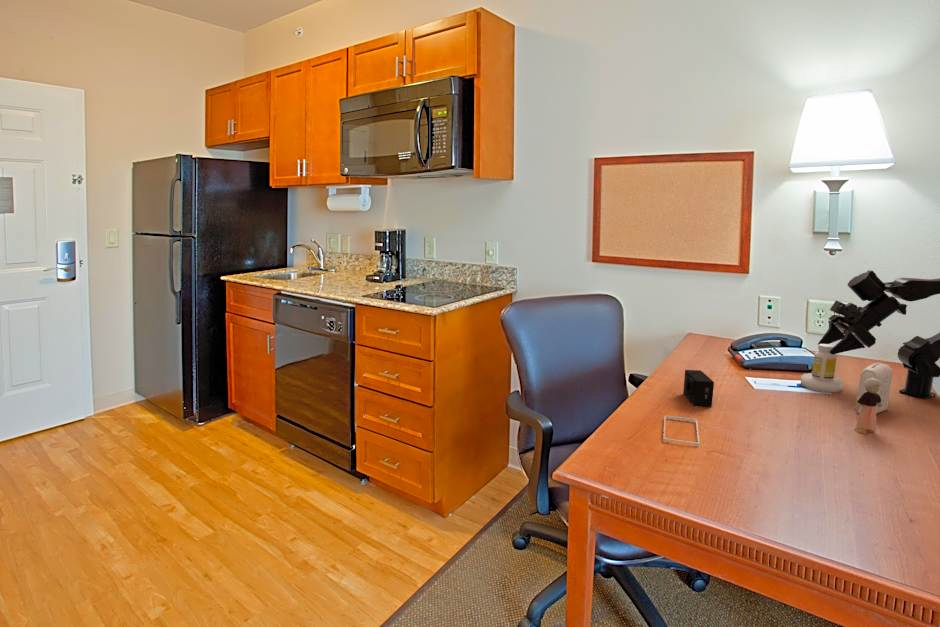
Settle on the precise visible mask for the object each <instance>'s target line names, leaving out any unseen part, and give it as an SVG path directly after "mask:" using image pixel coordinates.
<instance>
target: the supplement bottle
mask: <svg viewBox="0 0 940 627" xmlns="http://www.w3.org/2000/svg"><path fill="white" fill-rule="evenodd" d="M817 345H818V344H817ZM834 346H835V344H834V345H833V344H831V343H830V344H819V345H818V346H817V348H818V349H817V350H818V351H816V352H814V355H813V361H812V363H813V364H812V371H811V373H812V377H813V378H815V379H818V380H823V381H832V380H833V379H834V377H835V375H836V374H835V373H836V364H837V354H833V355H832V354H831V353H830V350H831V349H832V348H833V347H834Z"/></svg>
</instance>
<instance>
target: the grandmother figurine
mask: <svg viewBox="0 0 940 627" xmlns="http://www.w3.org/2000/svg"><path fill="white" fill-rule="evenodd" d="M880 386H881V382H880V381H879V380H878V379H875V378H869V379H866V380H865V381H864V387H865V388H866V391H867V392H865V393H864V394H863V395H862V396H861V397H860V399H859V400H858V401H857V400H856V402H857V403H855V406H853V410H854V411H855V412H857V411H858V410H859V408H860V407H861V405H862V409H861V411H860V413H858V416H857V421H856V425H855V426H856V427H854V429H853V430H854V431H855V432H857V433H860V434H863V435H864V434H868V433H875V432H876V430H877V413H876V404H877V407H882V404H881V398H880V396H879V395H878V394H877V392H878V391H879V387H880Z"/></svg>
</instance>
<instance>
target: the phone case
mask: <svg viewBox="0 0 940 627" xmlns="http://www.w3.org/2000/svg"><path fill="white" fill-rule="evenodd" d="M670 419H673V420H672V421H678V420H680V422H686V421H689V422H688V423H693V422H695V423H696V424H695V423H694V424H695V426H696V428H695V429H696V431H697V432H696V439H697V441H698V442H695V441H691V440H690V441H687V440H680V439H674V438H667V437H666V421H667V420H670ZM663 432H664V433H663ZM663 432H662V433H663V438H662V441H663V442H664V443H666V442H669V443H670V442H675V443H676V442H677V443H685V444H692V446H693V445H694V446H693V447H695V446H698V447H700V436H699V424H698V420H697V419H696V418H692V417H691V418H690V417H682V416H681V417H680V416H676V415H674V416H672V415H664V416H663Z"/></svg>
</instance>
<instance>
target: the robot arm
mask: <svg viewBox="0 0 940 627" xmlns="http://www.w3.org/2000/svg"><path fill="white" fill-rule="evenodd" d="M847 287H848V288H849V289H850V290H851V291H852V292H853V293H854V294H856V296H857V297H858V298H859V299H860V300H861V301H862V302H864V301H865V302H866V301H868V303H866V305H864V306H858V305H856V304H854V303H852V302H848V303H843V302H841V301H838V300H837V299H836V300H835V301H834V302H833V304H832V306H831V307H830V308H829V311H830V312H833V313H836V314H832V315H831V316H830V317H828V322H827V323H828V328H827V330H826V332H825V333H824V334H823V336H822V338H820V340H819V342H818V343H817V345H819V344H830V345H831V344H832V343H835V342H837V344H834V347H833V348H832V349H831V350H830V353H831V354H832V355H833V354H836V355H837V354H840V353H844V352H850V351H855V350H859V349H865V348H868V349H869V348H871V347H872V346H874V345H875V344H876V340H877V339H876V337H875V336H874V334H872V333H871V332H870V331H871V330H872V329H874V328H875V327H878V328H880V327H881V326H882V325H883V324H882V322H883V321H885V320H886V319H887V318H888V317H891V316H892V315H893V314H894V313H898V314H901V315H904V316H905V315H907V306H908V305H907V304H906V303H905V304H904V303H901V302H900V301H899V300H903V301H906V302H916V301H920V300H924V299H928V298H930V297H932V296H935V295H940V278H933V279H931V278H930V279H928V278H917V277H916V278H913V277H899V278H895V279H894V280H893V281H889V282H888V281H887V282H883V281H882V280H881V279H880V278H879V277H878V275H877V273H875V272H874V271H873V270H870V269H868V270H867V271H866V272H863V273H860V274H859V275H857V276H854V277H852V279H850V280H849V281H848V282H847ZM887 293H889V294H891V295H892V296H889V295H888V294H887ZM898 299H899V300H898ZM897 358H898V360H899V361H900V362H901V363H902V367H903V369H906V370H907V371H906V379H905V384H904V388H902V389H899V390H898V392H899V393H901V394H906V395H910V396H914V397H917V396H918V397H917V398H921V397H923V398H922V399H929V398H931V397H930V396H932V395H935V396H936V395H937V393H936V392H932V387H933V383H934V378H939V377H940V366H939V365H938V364H937V362H938V361H939V360H940V332H937V333H936V334H935V335H932V336H930V337H927V338H924V337H922V336H918V335H916V336H914V337H913V338H912V339H910V340H908V341H905V342H903V343H902V346H900V347H899V348H898V352H897ZM928 397H929V398H928ZM932 397H933V396H932Z"/></svg>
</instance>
